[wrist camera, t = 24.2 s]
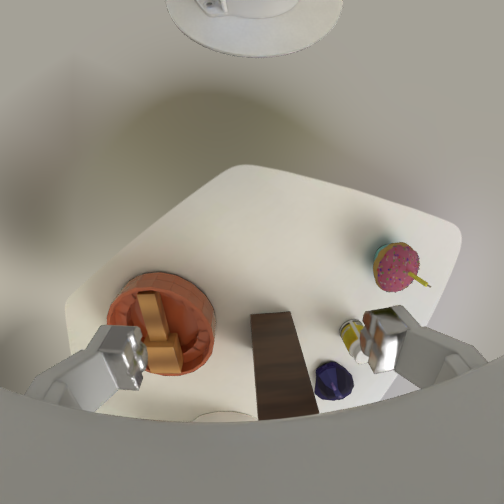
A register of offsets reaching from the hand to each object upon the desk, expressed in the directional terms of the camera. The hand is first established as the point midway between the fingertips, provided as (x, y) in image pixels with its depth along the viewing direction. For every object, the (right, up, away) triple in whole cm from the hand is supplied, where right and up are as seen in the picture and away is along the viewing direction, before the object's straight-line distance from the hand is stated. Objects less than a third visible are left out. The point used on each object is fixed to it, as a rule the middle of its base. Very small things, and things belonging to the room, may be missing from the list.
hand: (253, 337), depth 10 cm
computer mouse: (+17, -26, +47) cm, 56 cm away
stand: (+3, -11, +41) cm, 43 cm away
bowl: (-15, -9, +39) cm, 43 cm away
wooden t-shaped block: (-15, -10, +36) cm, 40 cm away
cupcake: (+23, +2, +37) cm, 44 cm away
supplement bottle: (+19, -12, +42) cm, 48 cm away
